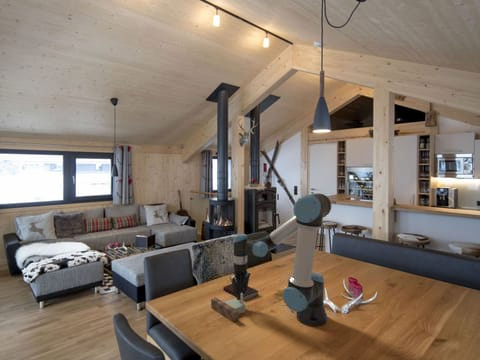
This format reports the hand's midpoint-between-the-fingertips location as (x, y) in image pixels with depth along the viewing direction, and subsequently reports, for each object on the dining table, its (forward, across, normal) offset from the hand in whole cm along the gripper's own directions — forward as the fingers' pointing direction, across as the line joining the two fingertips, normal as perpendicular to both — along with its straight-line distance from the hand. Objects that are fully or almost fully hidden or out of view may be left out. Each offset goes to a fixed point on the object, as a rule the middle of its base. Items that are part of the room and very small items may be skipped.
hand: (240, 304), depth 161 cm
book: (+2, -12, -15) cm, 20 cm away
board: (+1, +11, 0) cm, 11 cm away
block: (+2, +5, 0) cm, 5 cm away
